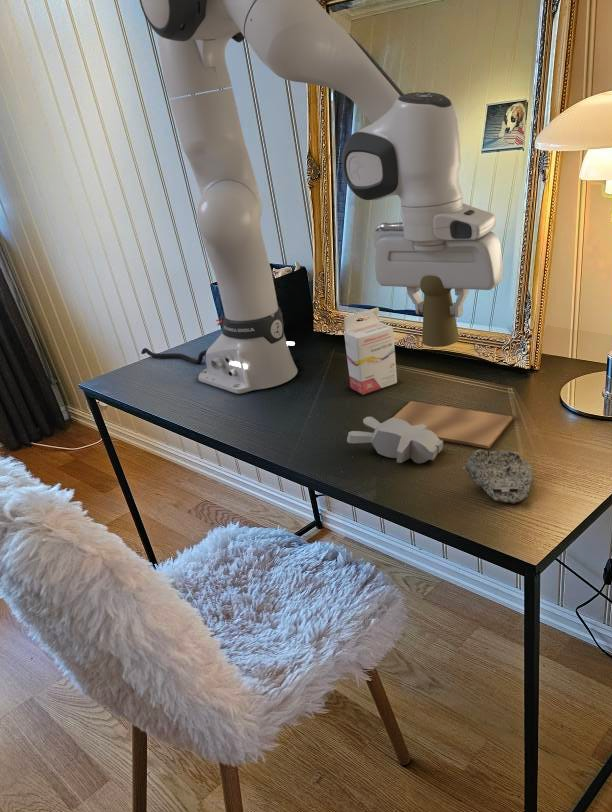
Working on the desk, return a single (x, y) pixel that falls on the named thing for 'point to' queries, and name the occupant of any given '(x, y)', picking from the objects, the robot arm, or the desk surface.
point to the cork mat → (456, 423)
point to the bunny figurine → (399, 440)
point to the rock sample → (501, 474)
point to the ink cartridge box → (369, 352)
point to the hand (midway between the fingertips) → (439, 314)
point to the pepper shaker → (437, 314)
